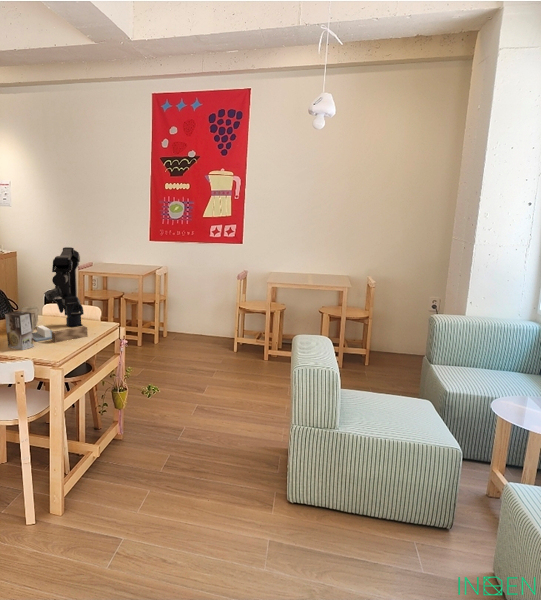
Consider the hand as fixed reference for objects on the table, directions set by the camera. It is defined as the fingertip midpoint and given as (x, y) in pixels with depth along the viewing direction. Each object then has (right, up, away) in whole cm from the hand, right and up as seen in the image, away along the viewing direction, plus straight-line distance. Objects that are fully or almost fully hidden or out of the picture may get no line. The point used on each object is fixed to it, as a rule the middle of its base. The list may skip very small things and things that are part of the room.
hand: (65, 314), depth 215 cm
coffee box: (-14, -15, -13) cm, 24 cm away
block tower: (-29, -8, +20) cm, 37 cm away
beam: (+1, -12, +3) cm, 13 cm away
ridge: (-13, -11, +5) cm, 18 cm away
